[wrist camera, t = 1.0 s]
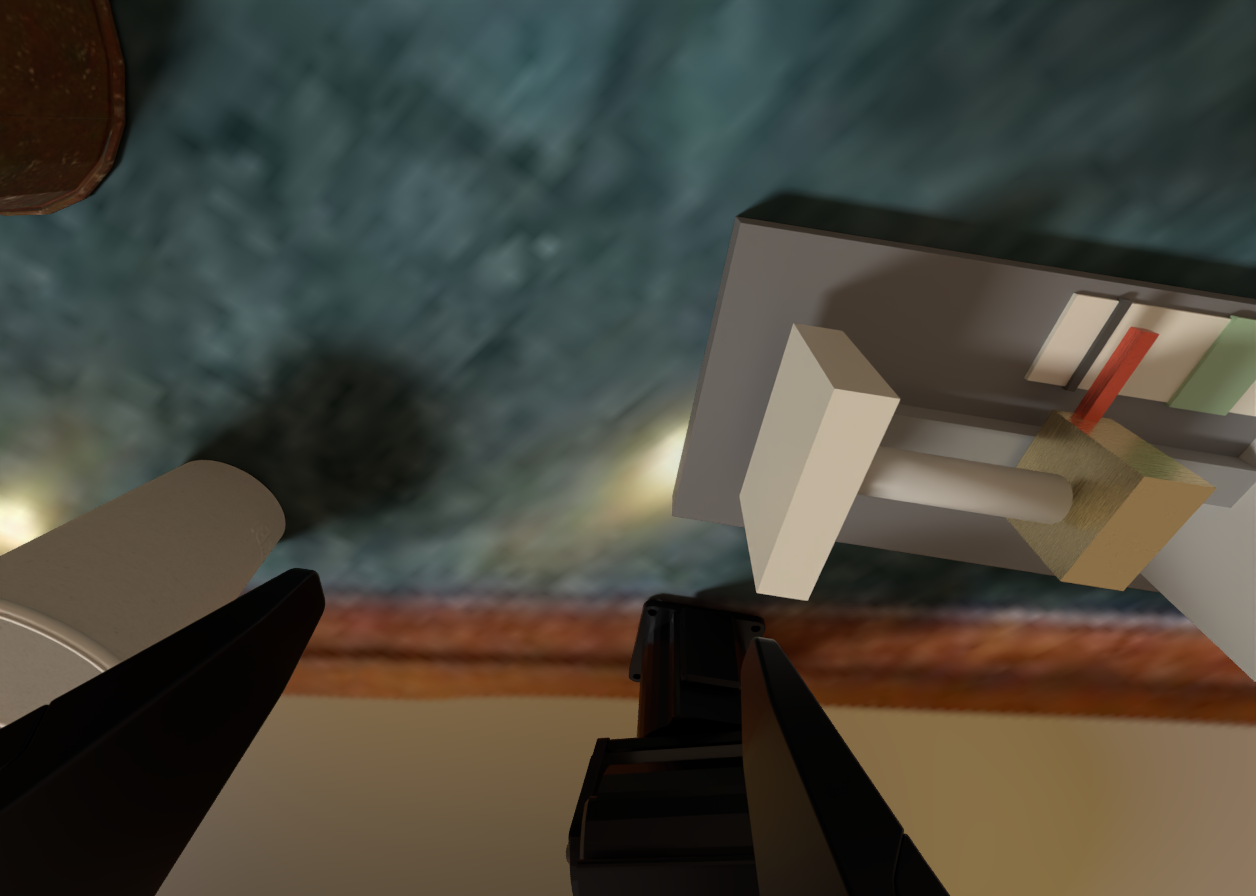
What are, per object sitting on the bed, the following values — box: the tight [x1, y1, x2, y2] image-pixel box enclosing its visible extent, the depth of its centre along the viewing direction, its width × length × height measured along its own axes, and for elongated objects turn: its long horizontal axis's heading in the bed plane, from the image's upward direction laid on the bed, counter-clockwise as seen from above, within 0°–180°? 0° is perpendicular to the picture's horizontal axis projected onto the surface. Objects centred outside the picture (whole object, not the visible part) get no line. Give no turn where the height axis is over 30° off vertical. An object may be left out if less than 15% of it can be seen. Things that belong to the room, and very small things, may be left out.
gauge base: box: [672, 216, 1256, 682], centre depth 17 cm, size 12×24×8 cm, turn 82°
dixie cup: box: [0, 460, 285, 727], centre depth 22 cm, size 8×8×10 cm
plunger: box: [739, 323, 1073, 601], centre depth 16 cm, size 7×9×5 cm
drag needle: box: [1005, 327, 1217, 591], centre depth 16 cm, size 7×2×4 cm, turn 172°
